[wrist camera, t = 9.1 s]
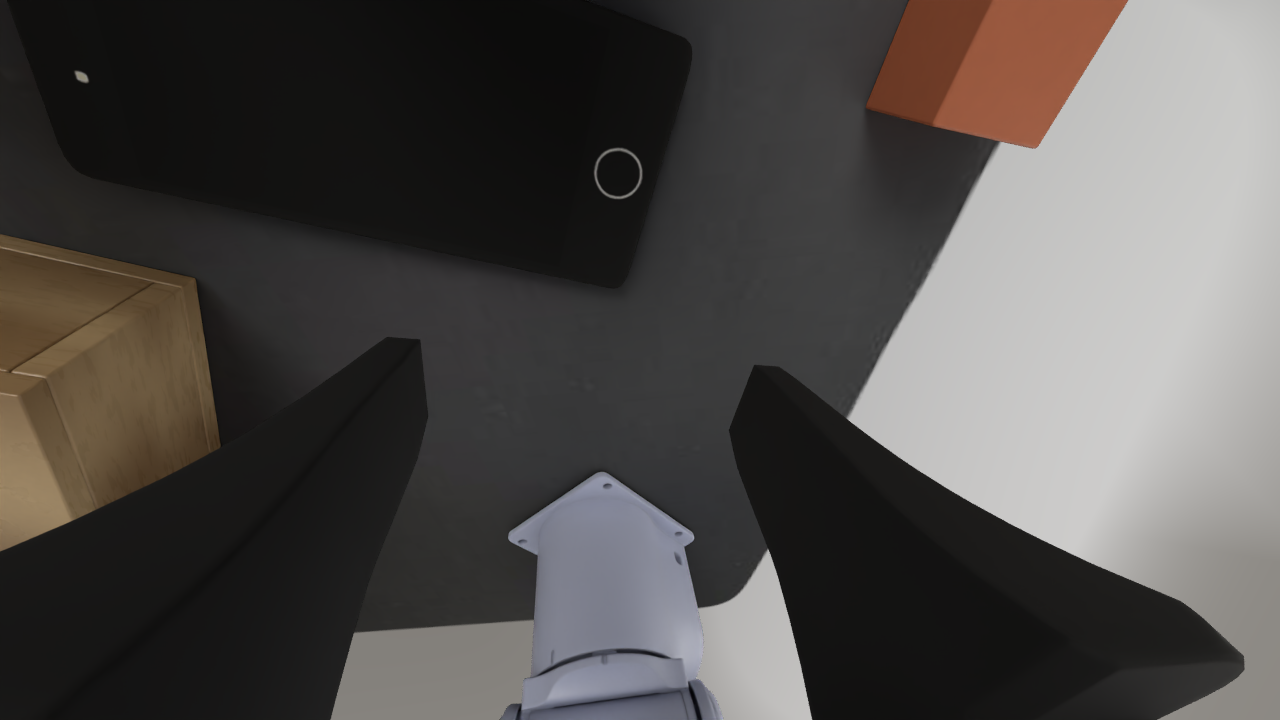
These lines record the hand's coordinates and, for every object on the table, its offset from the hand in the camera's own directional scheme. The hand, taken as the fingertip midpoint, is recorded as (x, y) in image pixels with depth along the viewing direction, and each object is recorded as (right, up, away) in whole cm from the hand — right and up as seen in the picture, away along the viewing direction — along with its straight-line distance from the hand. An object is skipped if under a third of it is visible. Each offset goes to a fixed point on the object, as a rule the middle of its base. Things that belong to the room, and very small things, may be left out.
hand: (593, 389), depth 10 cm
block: (+12, +11, +6) cm, 17 cm away
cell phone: (-7, +9, +5) cm, 13 cm away
